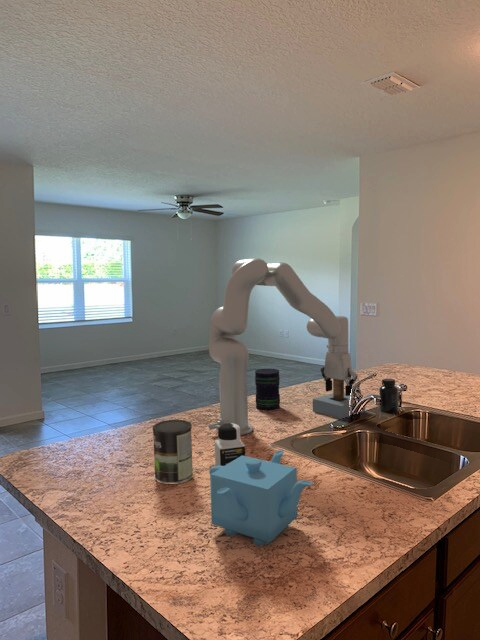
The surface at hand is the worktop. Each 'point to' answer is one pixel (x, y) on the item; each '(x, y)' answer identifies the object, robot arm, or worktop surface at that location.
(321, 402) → the socket
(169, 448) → the coffee can
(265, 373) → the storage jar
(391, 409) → the supplement bottle
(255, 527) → the teakettle
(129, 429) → the worktop surface
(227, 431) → the medicine bottle
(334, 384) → the peg
